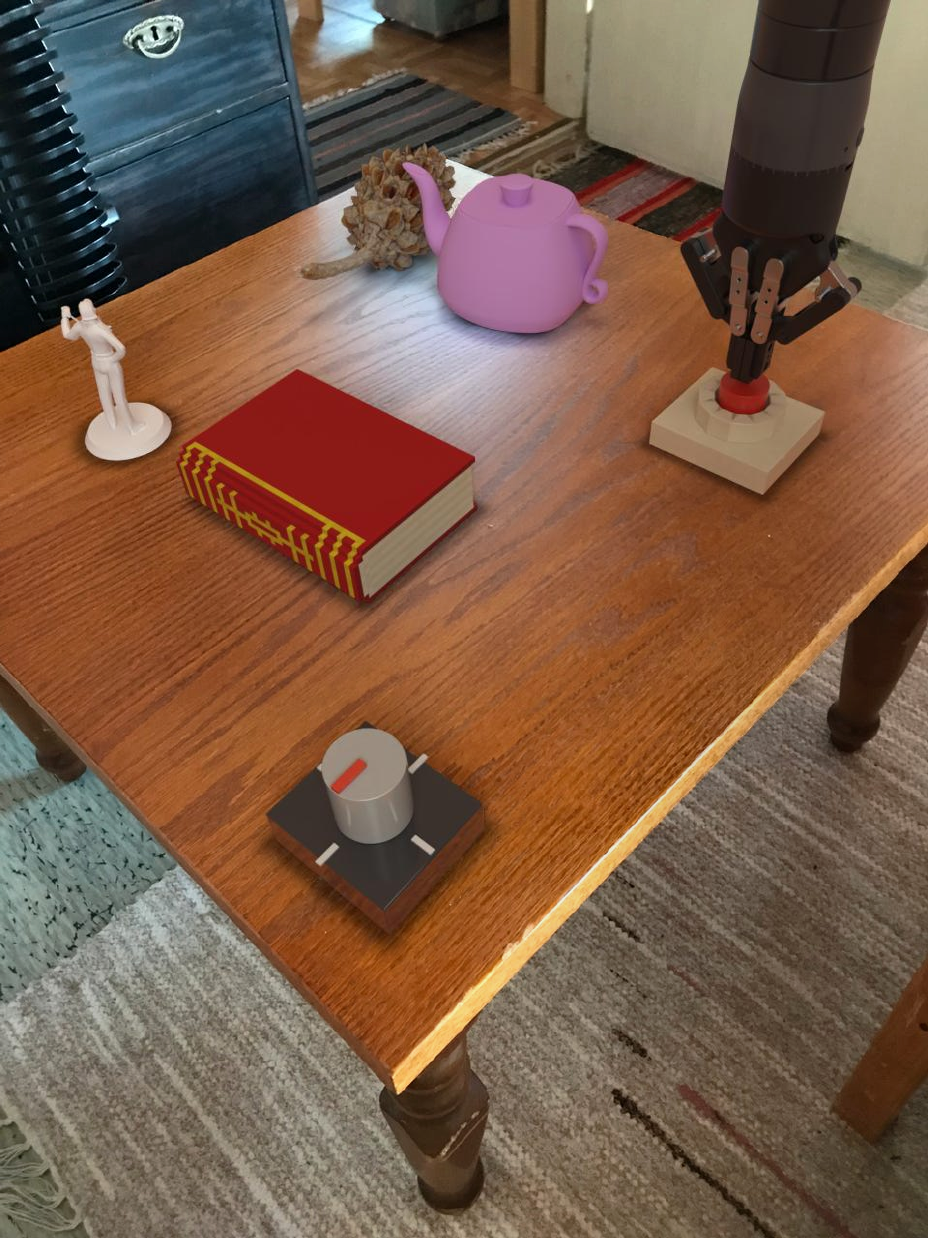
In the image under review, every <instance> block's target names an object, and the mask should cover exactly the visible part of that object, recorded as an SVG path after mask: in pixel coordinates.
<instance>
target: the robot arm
mask: <svg viewBox="0 0 928 1238" xmlns="http://www.w3.org/2000/svg"><path fill="white" fill-rule="evenodd" d="M891 2H892V0H757V7H756V14H755V19H754V23H753V24H754V25H753V31H752V37H751V42H750V49H749V56H748V61H747V65H746V69H745V73H744V76H743V79H742V82H741V85H740V90H739V92H738V98H737V103H736V108H735V116H734V122H733V127H732V135H731V140H730V141H731V142H730V146H729V153H728V159H727V166H726V173H725V179H724V184H723V191H722V197H721V211H720V212H719V214H718V215H717V217H716V218H715V219H714V221H713V223H712V227H710V228H708V227H702V228H700V229H699V230H698V231H696V232H695V233H694V234H693V235H690V237H689V238H687V239H685V241H683V242H682V243H681V244H680V247H679V252H680V255H681V256H682V259H683V260H684V262H685V265H686V267H687V269H688V271H689V273H690V275H691V278H692V279H693V281H694V284H695V285H696V288H697V290H698V292H699V294H700V296H701V298H702V300H703V303H704V305H705V307H706V309H707V311H708V314H709V315H710V317H711V319H714V320H716V321H717V320H722V321H723V322H724V323H726V324H727V325H728V326H729V330H730V337H729V343H728V349H727V355H726V360H725V364H726V368H727V369H729V370H730V371H731V373H730V377H731V378H733V379H736V380H738V381H741V382H744V383H746V384H750V383H751V382H752V381H753V380H754V379H756V380H757V379H758V378H759V377H760V376H761V375H762V374H763V375H764V373H766V371H767V370H768V369H769V368H770V366H771V362H772V357H773V354H774V349H775V345H776V342H777V343H778V344H780V345H782V346H786V345H789V344H791V343H792V342H794V341H795V340H797V339H798V338H800V337H801V336H803V335H805V334H806V333H807V332H809V331H811V330H812V329H814V328H815V327H817V326H818V325H820V324H821V323H823V322H824V321H826V320H828V319H829V318H830V317H832V316H834V315H835V314H837V313H838V312H840V311H841V310H843V309H844V308H845V307H846V306H847V305H848V304H849V303H850V302H851V301H853V299H854V298H855V297H857V296H858V294H860V292H861V291H862V289H863V284H862V281H861V280H860V279H859V278H858V277H856V276H850V277H847V275H846V274H845V273H844V272H843V270H842V269H841V267H840V266H839V264H838V263H837V262H836V260H837V259H838V257H839V244H838V242H837V228H838V226H839V222H840V219H841V215H842V211H843V207H844V203H845V199H846V196H847V193H848V188H849V184H850V180H851V176H852V173H853V169H854V164H855V161H856V158H857V157H856V156H857V153H858V149H859V147H860V146H861V144H862V141H863V138H864V134H865V130H866V129H865V122H866V118H867V115H868V114H867V113H868V110H869V105H870V100H871V99H870V98H871V91H872V81H873V74H874V71H875V70H874V69H875V64H876V60H877V57H878V52H879V49H880V48H879V47H880V44H881V40H882V35H883V32H884V28H885V24H886V20H887V17H888V13H889V9H890V5H891ZM818 277H819V284H818V286H817V287H816V288H815V289H814V292H813V293H814V300H813V301H812V302H811V303H809V304H808V305H806V306H804V307H803V308H801V309H800V310H799V311H797V312H796V313H795V314H793V315H787V312H788V309H789V306H790V304H791V302H792V300H793V299H794V297H795V295H796V294H797V293H799V292H800V291H801V290H803V289H804V288H805V287H807V286H808V285H809V284H811V283H812V282H813V281H814V280H816V279H817V278H818Z"/></svg>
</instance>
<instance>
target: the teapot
mask: <svg viewBox="0 0 928 1238" xmlns="http://www.w3.org/2000/svg"><path fill="white" fill-rule="evenodd" d="M402 165H403V168H404V169H405V170H406V171H407V172H408V173H409V175H410V176H411V177H412V178H413V179H414V181H415V183H416V185H417V187H418V189H419V192H420V195H421V201H422V209H423V223H424V231H425V235H426V239H427V241H428V244H429V246H430V248H429V249H430V250H431V251H432V253H433V254H434V256H435V257H437V259H438V260H437V261H438V263H437V271H436V286H437V290H438V294H439V296H440V297H441V299H442V301H443V302H444V303H445V304H446V306H447V307H448V308H449V309H450V310H451V311H452V312H453V313H454V314H455V315H457V316H459V317H460V318H462V319H464V320H466V321H468V322H470V323H472V324H475V325H478V326H480V327H483V328H487V329H490V330H495V331H500V332H506V333H517V334H518V333H520V334H536V333H538V334H539V333H545V332H549V331H552V330H554V329H556V328H558V327H560V326H561V325H562V324H564V323H565V322H566V321H567V320H568V319H570V317H571V316H572V315H573V314H574V313H575V312H576V311H577V309H578V308H579V307H580V306H581V305H582V303H583V302H585V303H587V304H589V305H596V304H597V305H598V304H600V303H603V302H604V301H605V300H606V299H607V298H608V295H609V292H610V291H609V290H610V287H609V284H608V283H607V281H606V280H605V279H604V278H602V277H597V275H598V273H599V271H600V270H601V267H602V265H603V263H604V260H605V258H606V255H607V253H608V250H609V249H608V248H609V234H608V231H607V229H606V227H605V226H604V224H602V222H600V220H599V219H597V218H596V217H594V216H593V215H590V214H587V213H584V211H583V209H582V207H581V205H580V203H579V201H578V199H577V197H576V195H575V194H574V192H572V191H571V190H570V189H569V188H567V187H565V186H563V185H560V184H557V183H555V182H551V181H548V180H545V179H540V178H535V177H532V176H530V175H528V174H523V173H511V174H507V175H500V176H499V175H497V176H493V177H487V178H485V179H484V180H482V181H480V182H479V183H477V184H476V185H474V187H473V188H472V189H470V190H469V191H468V192H467V193H466V194H465V195H464V196H463V197H462V199H461V200H460V201H459V203H458V205H457V207H456V209H455V211H454V213H453V215H452V217H451V216H450V215H449V214H448V212H446V210H445V208H444V205H443V202H442V199H441V196H440V193H439V190H438V187H437V185H436V183H435V181H434V179H433V178H432V176H431V175H430V174H429V173H428V172H427V171H426V170H425V169H423V168H422V167H420V166H418V165H415V164H412V163H407V162H406V163H403V164H402ZM594 287H595V288H596V289H597V290H595V289H594Z"/></svg>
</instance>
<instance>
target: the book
mask: <svg viewBox="0 0 928 1238" xmlns="http://www.w3.org/2000/svg"><path fill="white" fill-rule="evenodd" d="M181 447H182V451H180V452H179V453H178V456H179V459H177V460H176V461H175V464H176V466H177V470H178V473H179V476H180V479H181V481H182V484H183V487H184V490H185V493H186V495H187V496H189V497H190V498H193V499H194V500H195V501H197V502H199V503H200V504H202V505H203V506H205V507H207V508H209V510H212V511H213V512H215V513H216V514H218V515H220V516H222V517H223V518H224V519H226V520H227V521H229V522H231V523H233V524H234V525H235V526H237V527H239V528H240V529H242V530H243V531H245V532H246V533H248V534H250V535H252V536H253V537H255V538H256V539H258V540H260V541H261V542H263V543H265V544H266V545H268V546H270V547H271V548H273V549H275V550H276V551H278V552H279V553H281V554H282V555H284V556H286V557H287V558H289V559H291V560H292V561H294V562H295V563H297V564H298V565H301V566H302V567H304V568H305V569H306V570H308V571H310V572H311V573H314V574H315V575H316V576H317V577H320V578H321V579H323V580H324V581H326V582H327V583H329V584H331V585H332V586H334V587H335V588H337V589H339V590H340V591H342V592H344V593H345V594H347V595H348V596H350V597H351V598H354V599H355V600H356V601H358V602H361V601H363V602H364V603H365V602H369V603H371V602H372V601H373V600H375V599H376V598H377V597H378V596H379V595H381V594H382V593H383V592H384V591H385V590H386V589H387V588H389V587H390V586H391V585H392V584H393V583H395V581H397V580H398V579H399V578H400V577H401V576H402V575H404V573H406V572H407V571H408V570H409V569H411V567H413V566H414V565H415V564H416V563H417V562H418V561H420V560H421V559H422V558H423V557H424V556H425V555H426V554H427V553H429V552H430V551H432V549H434V548H435V547H436V545H438V544H439V543H440V542H442V540H443V539H445V538H446V537H447V536H448V535H450V533H451V532H453V531H454V530H455V529H456V528H457V527H459V526H460V525H461V524H462V523H463V522H464V521H465V520H466V519H467V518H469V517H470V516H471V515H472V514H473V513H475V512H476V511H477V510H478V503H476V502H474V491H473V467H472V465H473V464H475V463H476V456H475V455H472V454H470V453H469V452H466V451H464V450H462V449H460V448H458V447H456V446H455V445H453V444H450V443H449V442H446V441H444V440H443V439H440V438H438V437H436V436H435V435H432V434H430V433H429V432H426V431H424V430H422V429H420V428H419V427H416V426H414V425H412V424H410V423H408V422H406V421H404V420H402V419H399V418H398V417H397V416H394V415H392V414H390V413H388V412H385V411H383V410H382V409H380V408H378V407H376V406H373V405H372V404H370V403H367V402H366V401H363V400H362V399H360V398H357V397H355V396H353V395H351V394H349V393H347V392H345V391H344V390H341V389H339V388H337V387H335V386H333V385H331V384H329V383H328V382H325V381H323V380H321V379H319V378H317V377H315V376H313V375H311V374H309V373H307V372H305V371H303V370H301V369H299V368H296V369H294V370H293V371H291V372H290V373H288V374H287V375H286V376H284V377H283V378H280V379H279V380H278V381H276V382H275V383H274V384H272V385H270V386H269V387H267V388H266V389H264V390H263V391H261V392H260V393H258V394H257V395H255V396H253V397H252V398H250V399H249V400H248V401H246V402H245V403H243V404H242V405H240V406H239V407H238V408H236V409H234V410H233V411H231V412H230V413H228V414H227V415H226V416H224V417H222V418H220V420H218V421H217V422H215V423H214V424H212V425H210V426H209V427H207V428H206V429H205V430H202V431H201V432H200V433H199V434H197V435H195V436H194V437H193V438H191V439H190V440H188V441H186V442H185V443H183V444H182V445H181Z"/></svg>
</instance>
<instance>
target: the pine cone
mask: <svg viewBox="0 0 928 1238" xmlns="http://www.w3.org/2000/svg"><path fill="white" fill-rule="evenodd" d="M422 144H423V145H422V146H419V147H417V149H415V150H413V152H412V151H411V147H410V145H409V143H408V144H406V147H405V150H403V151H402V149H401V147H398V148H397V149H396V150H395V151H393V150H392V149H390V148H386V149H383V151H382V154H381V155H382V157H381V158H379V157H377V156H374V155H372V156H371V158H370V160H369V162H368V163H362V164H361V180H359V181H357V182H355V183H354V190H355V192H356V195H350V200H351V203H352V204H351V205H348V206H345V207H343V215H342V217H341V219H340V222H341V224H342V225H343V227H345V228H346V230H347V232H348V233H349V236H347V237H346V241H347V242H348V244H350V245H352V246H354V249H353V251H356V252H354V253H352V254H350V255H348V256H346V257H342V258H340V259H337V260H333V261H328V262H327V261H326V262H324V263H323V262H311V263H310V264H308V263H304V262H302V263H301V264H300V265H298V266H297V267H296V268H295V269H293V270H292V272H295V271H299V270H300V271H299V273H298V275H297V277H298V278H301V279H305V280H309V281H318V280H326V279H328V278H334V277H337V276H339V275H342V274H343V273H344V274H345V273H347V272H350V271H353V270H354V269H357V268H359V267H361V266H364V265H365V264H367V263H371V265H372V266H373V268H375V270H377V269H379V270H381V271H383V272H384V271H385V270H387V267H388V266H391V267H393V268H395V269H396V270H398V271H401V272H402V271H403V270H404V268H409V267H411V266H412V264H413V258H412V256H418V255H419V256H420V255H426V254H427V253H428V250H429V249H431V248H430V246H429V244H428V241H427V239H426V235H425V231H424V223H423V209H422V201H421V195H420V192H419V189H418V187H417V185H416V183H415V181H414V179H413V178H412V177H411V176H410V175H409V173H408V172H407V171H406V170H405V169H404V168H403V165H402V164H403V163H406V162H407V163H412V164H415V165H418V166H420V167H422V168H423V169H425V170H426V171H427V172H428V173H429V174H430V175H431V176H432V178H433V179H434V181H435V183H436V185H437V187H438V190H439V193H440V196H441V199H442V202H443V205H444V208H445V210H446V212H447V213H449V212H450V210H451V209H453V205H454V203H455V201H456V199H457V197H455V196H453V194H452V192H451V189H453V188H455V186H456V183H457V180H456V179H455V178H454V175H456V169H455V167H454V166H453V165H448V166H447V161H446V160H447V157H446V155H445V154H441V155H440V153H439V151H440V148H436V146H434V145H431V146H430V147H429V148H428V147H427V144H426V142H425V141H424V142H423V143H422Z"/></svg>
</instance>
